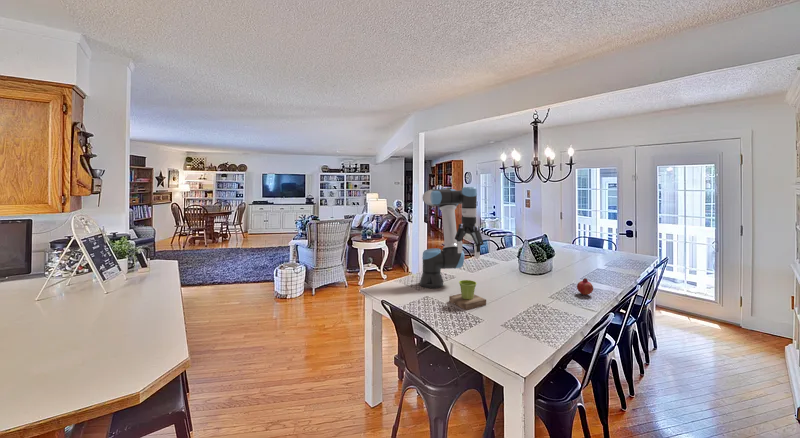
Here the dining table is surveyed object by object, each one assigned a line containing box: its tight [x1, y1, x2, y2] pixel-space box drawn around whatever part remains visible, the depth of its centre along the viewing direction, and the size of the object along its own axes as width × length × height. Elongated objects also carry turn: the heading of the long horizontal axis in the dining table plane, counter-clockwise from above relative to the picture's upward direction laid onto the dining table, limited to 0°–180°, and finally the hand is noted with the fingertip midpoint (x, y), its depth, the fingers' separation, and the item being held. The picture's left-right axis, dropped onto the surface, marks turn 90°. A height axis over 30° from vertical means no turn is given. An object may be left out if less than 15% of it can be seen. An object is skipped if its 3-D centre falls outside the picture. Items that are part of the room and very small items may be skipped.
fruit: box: [576, 277, 594, 296], centre depth 182 cm, size 8×8×10 cm
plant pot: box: [458, 279, 478, 300], centre depth 170 cm, size 9×9×9 cm
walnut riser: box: [449, 293, 487, 311], centre depth 171 cm, size 14×14×3 cm
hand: (468, 255), depth 168 cm, fingers open, 13 cm apart
